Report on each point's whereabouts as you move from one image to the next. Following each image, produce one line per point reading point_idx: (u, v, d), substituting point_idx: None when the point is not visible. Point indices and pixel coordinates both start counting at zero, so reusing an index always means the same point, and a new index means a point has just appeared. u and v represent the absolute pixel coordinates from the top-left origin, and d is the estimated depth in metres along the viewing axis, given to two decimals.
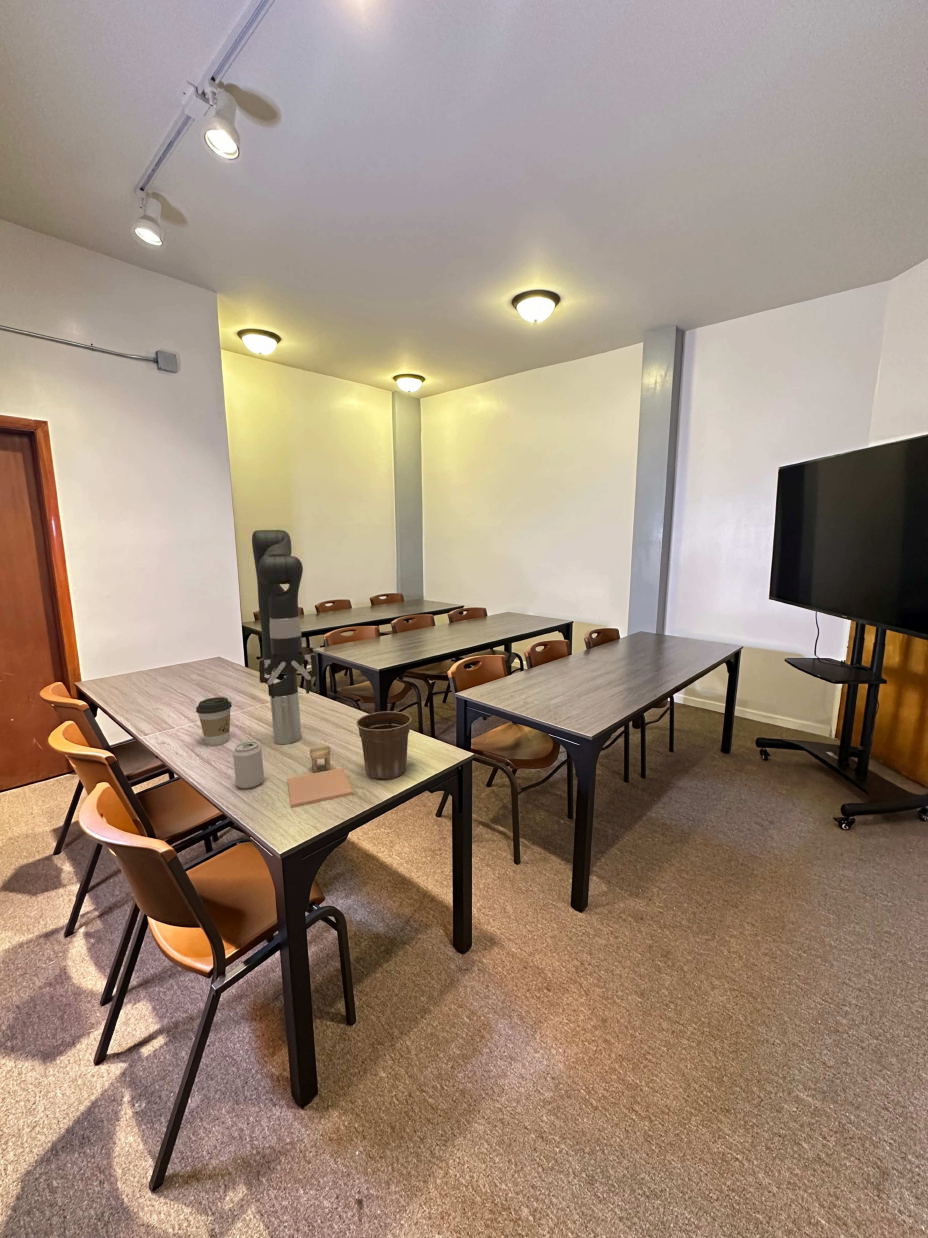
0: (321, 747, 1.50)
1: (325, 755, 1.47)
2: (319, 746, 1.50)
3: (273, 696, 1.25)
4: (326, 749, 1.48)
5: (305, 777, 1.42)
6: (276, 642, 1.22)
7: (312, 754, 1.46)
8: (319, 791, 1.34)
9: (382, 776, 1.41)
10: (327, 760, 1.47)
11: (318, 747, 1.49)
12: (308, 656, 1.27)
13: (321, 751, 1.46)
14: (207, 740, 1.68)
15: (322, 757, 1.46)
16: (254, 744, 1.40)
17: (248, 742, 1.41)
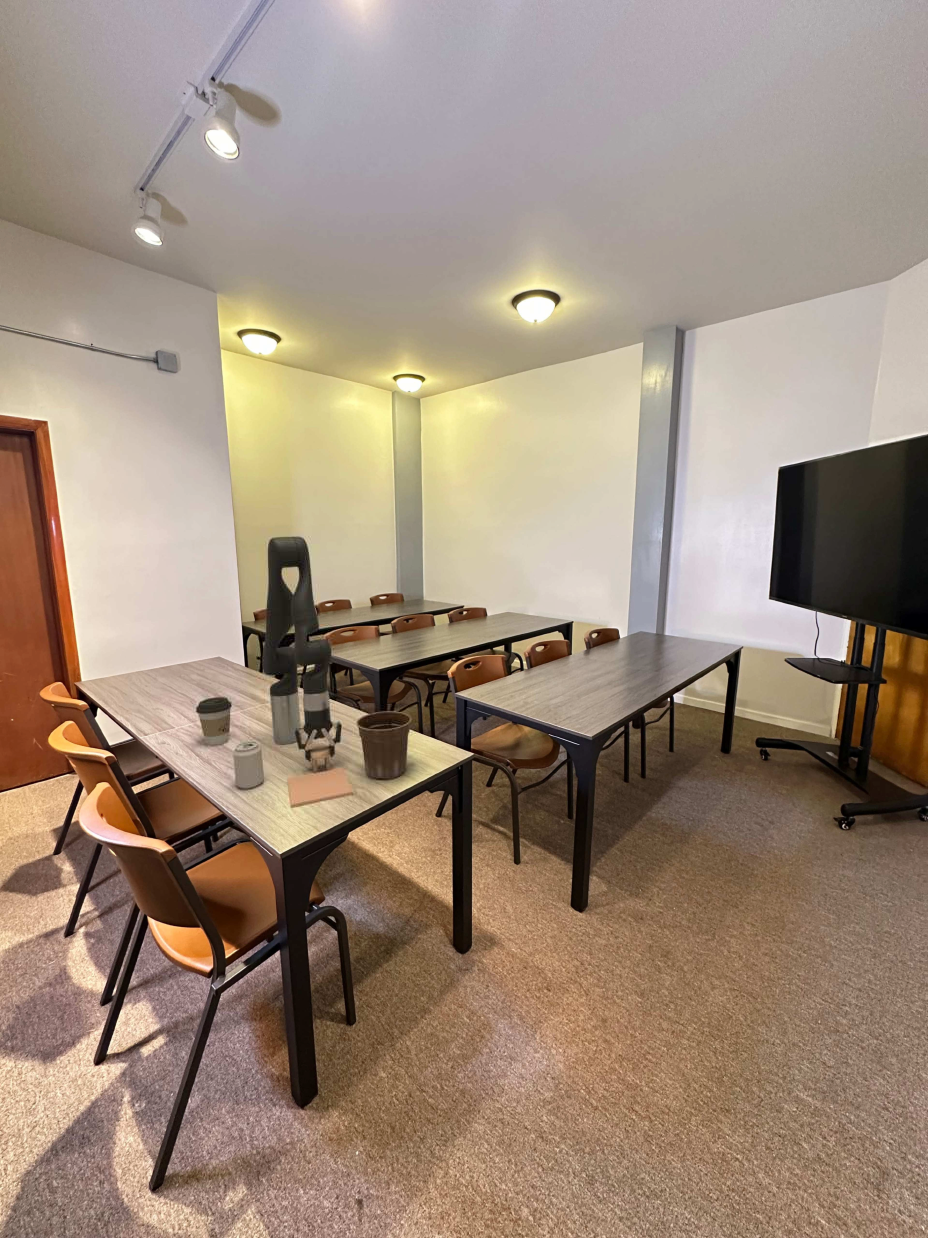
0: (320, 747, 1.50)
1: (325, 755, 1.47)
2: (319, 746, 1.50)
3: (309, 760, 1.46)
4: (326, 749, 1.48)
5: (305, 777, 1.42)
6: (309, 714, 1.43)
7: (312, 754, 1.46)
8: (319, 791, 1.34)
9: (382, 776, 1.41)
10: (327, 760, 1.47)
11: (318, 747, 1.49)
12: (335, 724, 1.49)
13: (321, 751, 1.46)
14: (207, 740, 1.68)
15: (322, 757, 1.46)
16: (254, 744, 1.40)
17: (248, 742, 1.41)
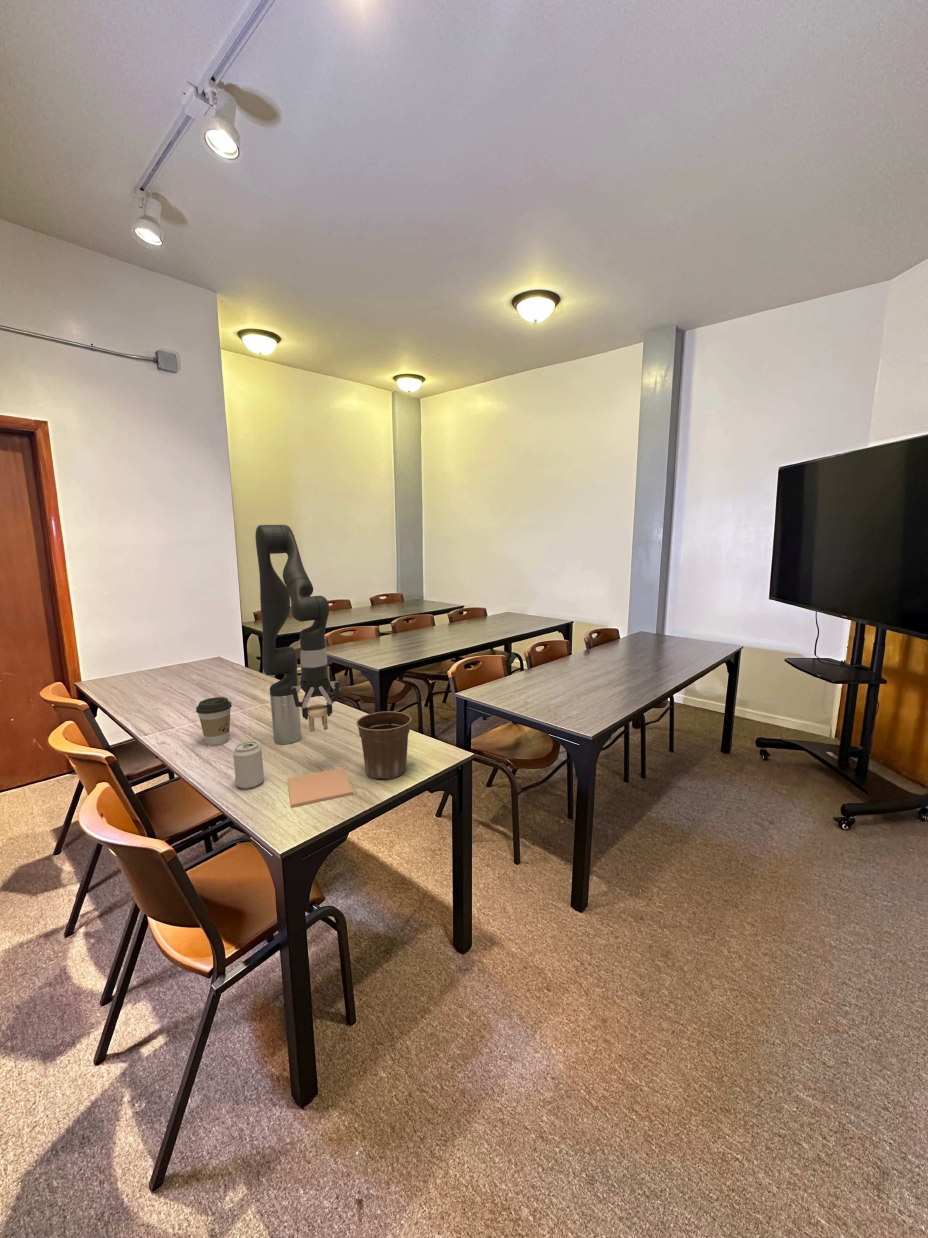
0: (318, 706, 1.48)
1: (323, 714, 1.45)
2: (317, 705, 1.48)
3: (306, 718, 1.44)
4: (323, 708, 1.46)
5: (305, 777, 1.42)
6: (306, 670, 1.41)
7: (309, 712, 1.44)
8: (319, 791, 1.34)
9: (382, 776, 1.41)
10: (324, 719, 1.45)
11: (315, 706, 1.47)
12: (333, 683, 1.47)
13: (318, 709, 1.44)
14: (207, 740, 1.68)
15: (319, 715, 1.44)
16: (254, 744, 1.40)
17: (248, 742, 1.41)
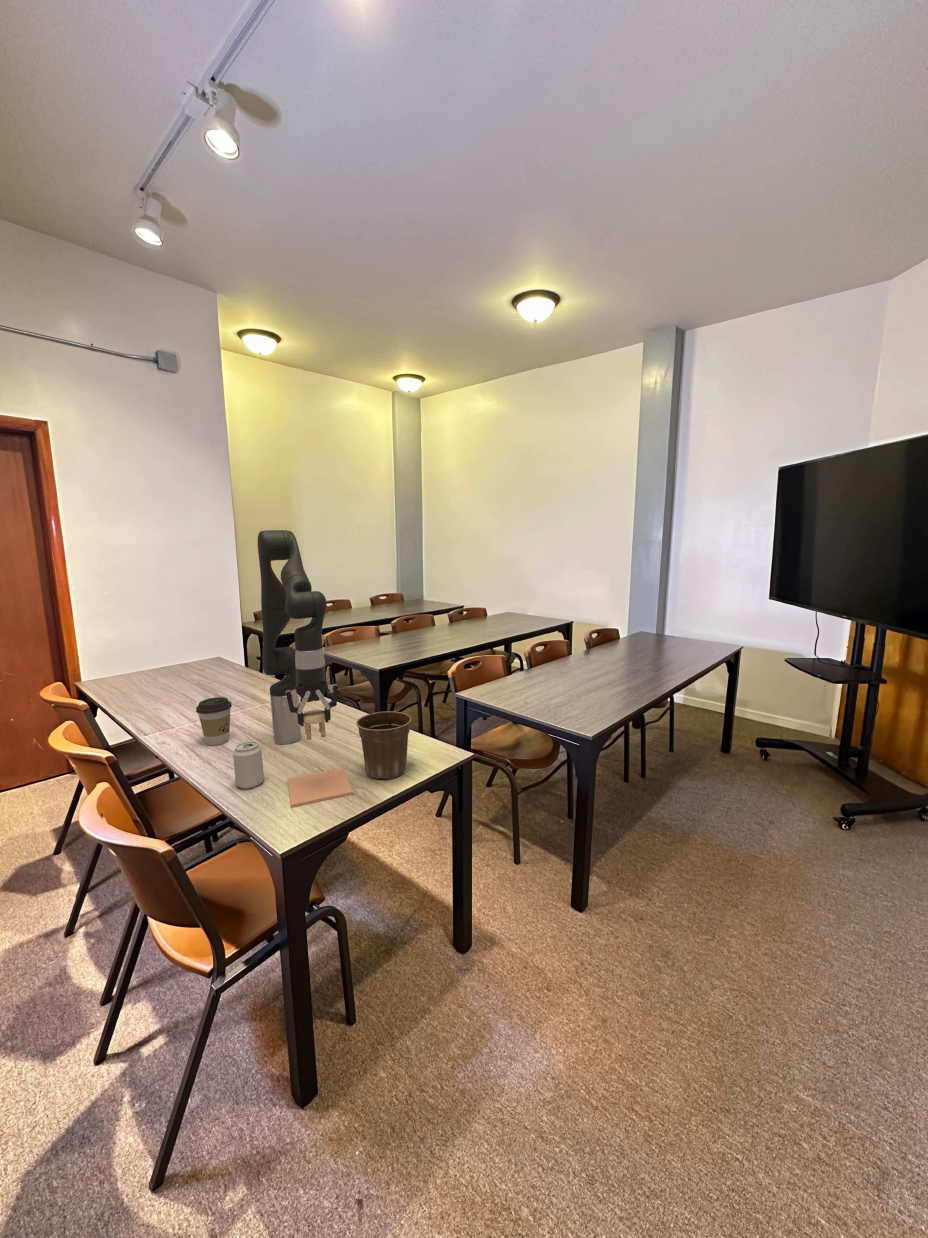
0: (315, 711, 1.36)
1: (320, 720, 1.32)
2: (314, 711, 1.36)
3: (302, 725, 1.32)
4: (321, 713, 1.34)
5: (305, 777, 1.42)
6: (302, 673, 1.29)
7: (305, 718, 1.32)
8: (319, 791, 1.34)
9: (382, 776, 1.41)
10: (322, 725, 1.33)
11: (312, 711, 1.35)
12: (331, 686, 1.35)
13: (315, 715, 1.32)
14: (207, 740, 1.68)
15: (316, 722, 1.32)
16: (254, 744, 1.40)
17: (248, 742, 1.41)
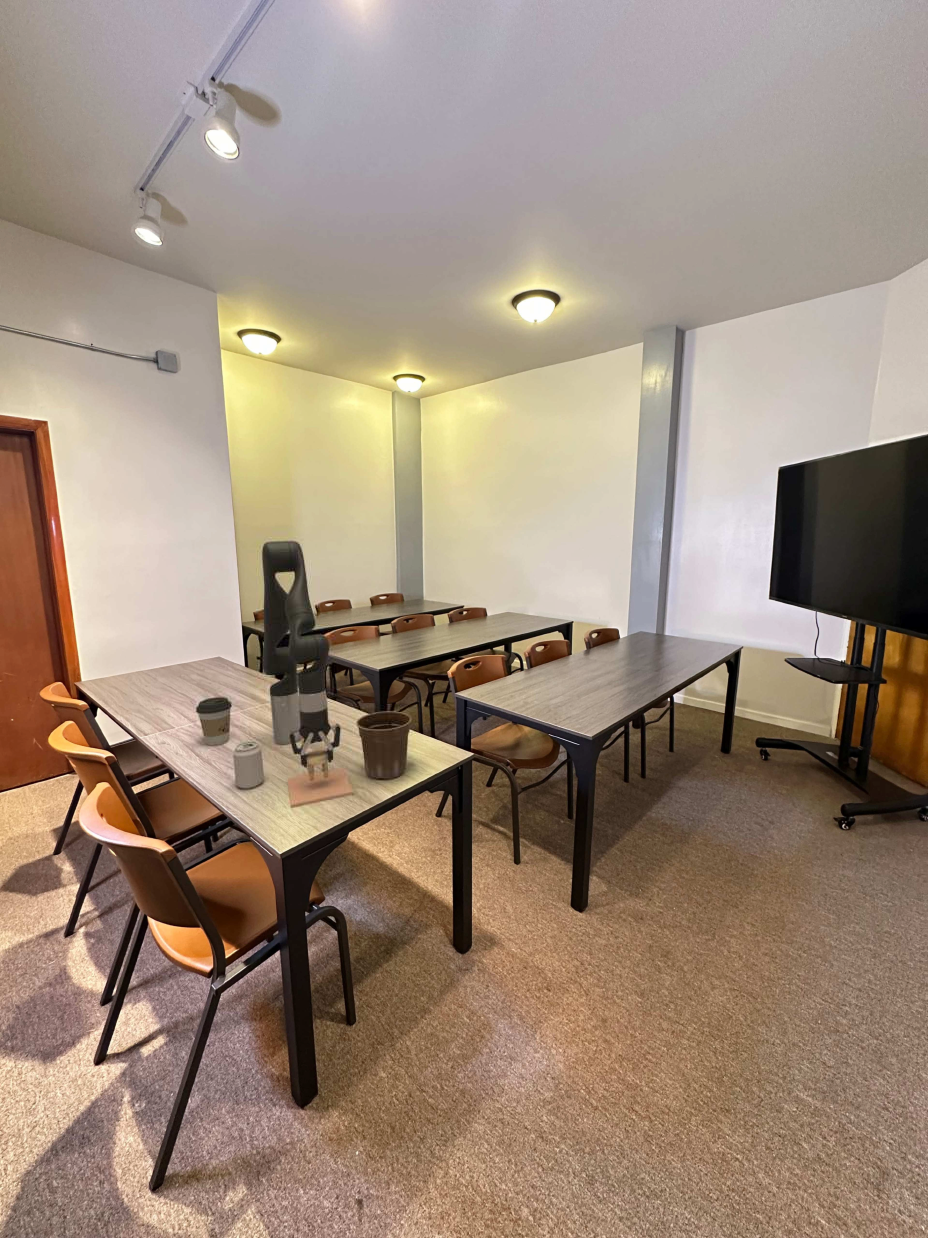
0: (318, 751, 1.37)
1: (323, 761, 1.34)
2: (317, 751, 1.38)
3: (305, 766, 1.34)
4: (324, 754, 1.35)
5: (305, 777, 1.42)
6: (305, 715, 1.31)
7: (308, 759, 1.33)
8: (319, 791, 1.34)
9: (382, 776, 1.41)
10: (325, 766, 1.35)
11: (315, 752, 1.37)
12: (334, 727, 1.36)
13: (318, 756, 1.34)
14: (207, 740, 1.68)
15: (319, 763, 1.34)
16: (254, 744, 1.40)
17: (248, 742, 1.41)
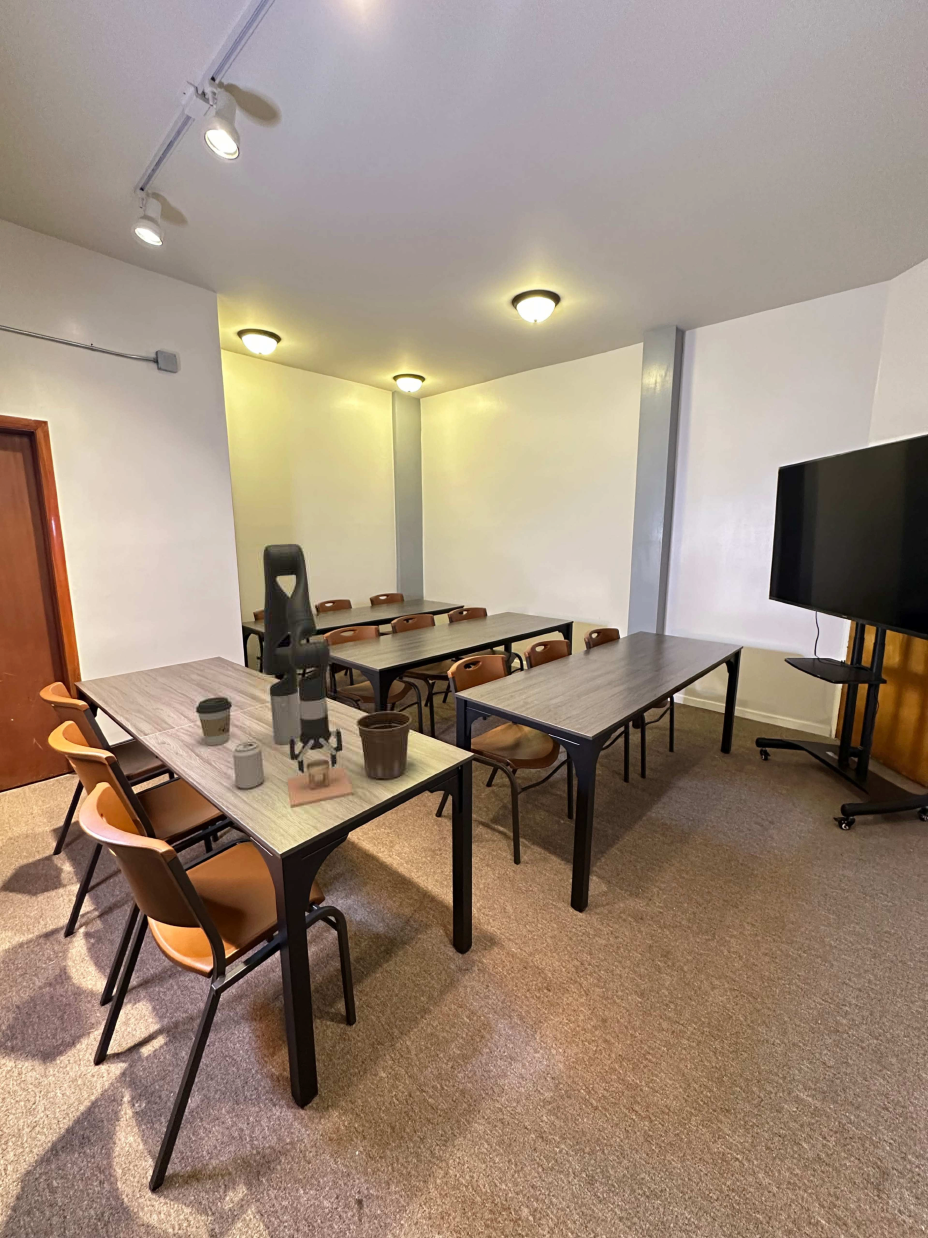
0: (318, 761, 1.38)
1: (324, 770, 1.35)
2: (317, 760, 1.38)
3: (303, 771, 1.34)
4: (324, 764, 1.36)
5: (305, 777, 1.42)
6: (305, 722, 1.31)
7: (309, 769, 1.34)
8: (319, 791, 1.34)
9: (382, 776, 1.41)
10: (326, 776, 1.35)
11: (316, 761, 1.38)
12: (334, 732, 1.37)
13: (319, 766, 1.35)
14: (207, 740, 1.68)
15: (320, 773, 1.34)
16: (254, 744, 1.40)
17: (248, 742, 1.41)
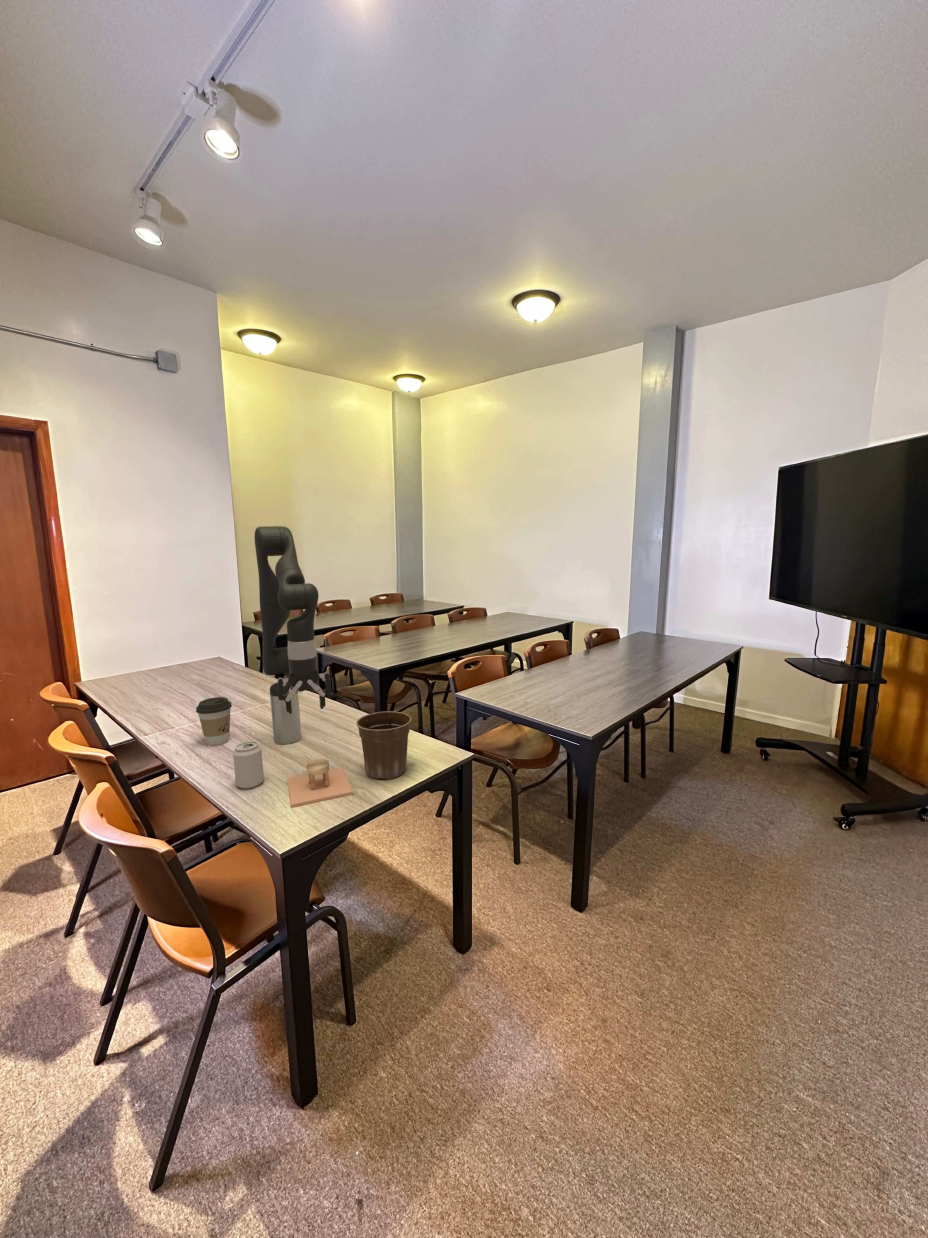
0: (318, 761, 1.38)
1: (324, 770, 1.35)
2: (317, 760, 1.38)
3: (290, 712, 1.35)
4: (324, 764, 1.36)
5: (305, 777, 1.42)
6: (294, 663, 1.32)
7: (309, 769, 1.34)
8: (319, 791, 1.34)
9: (382, 776, 1.41)
10: (326, 776, 1.35)
11: (316, 761, 1.38)
12: (322, 675, 1.38)
13: (319, 766, 1.35)
14: (207, 740, 1.68)
15: (320, 773, 1.34)
16: (254, 744, 1.40)
17: (248, 742, 1.41)
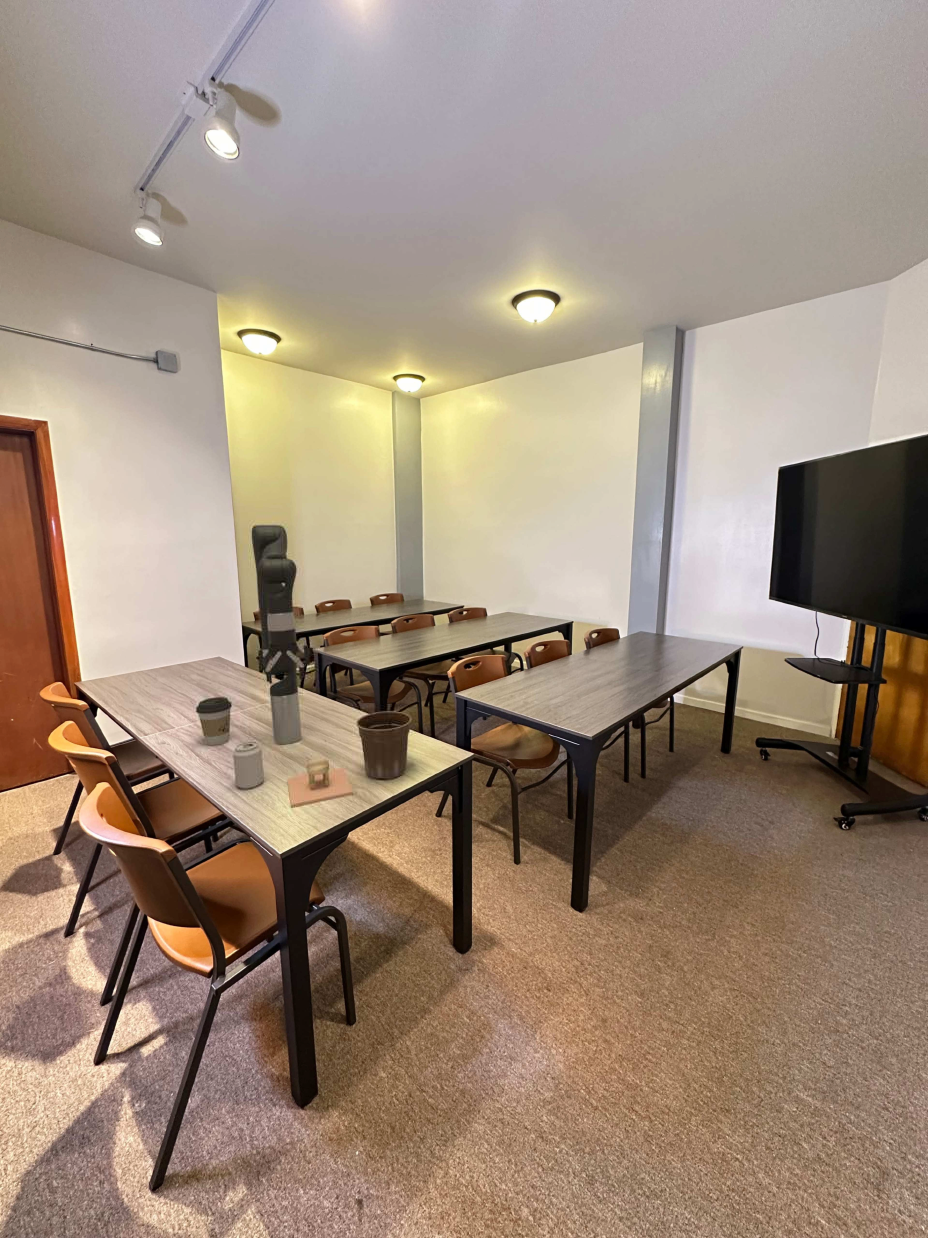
0: (318, 761, 1.38)
1: (324, 770, 1.35)
2: (317, 760, 1.38)
3: (270, 682, 1.42)
4: (324, 764, 1.36)
5: (305, 777, 1.42)
6: (273, 634, 1.39)
7: (309, 769, 1.34)
8: (319, 791, 1.34)
9: (382, 776, 1.41)
10: (326, 776, 1.35)
11: (316, 761, 1.38)
12: (301, 647, 1.45)
13: (319, 766, 1.35)
14: (207, 740, 1.68)
15: (320, 773, 1.34)
16: (254, 744, 1.40)
17: (248, 742, 1.41)
